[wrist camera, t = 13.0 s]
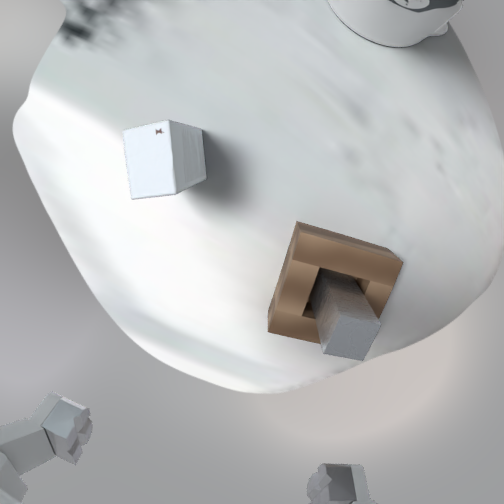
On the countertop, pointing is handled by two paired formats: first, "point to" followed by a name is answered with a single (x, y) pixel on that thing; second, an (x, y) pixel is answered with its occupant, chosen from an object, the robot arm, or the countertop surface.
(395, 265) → the walnut socket block
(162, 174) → the skincare box
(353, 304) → the metal peg
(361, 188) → the countertop surface
